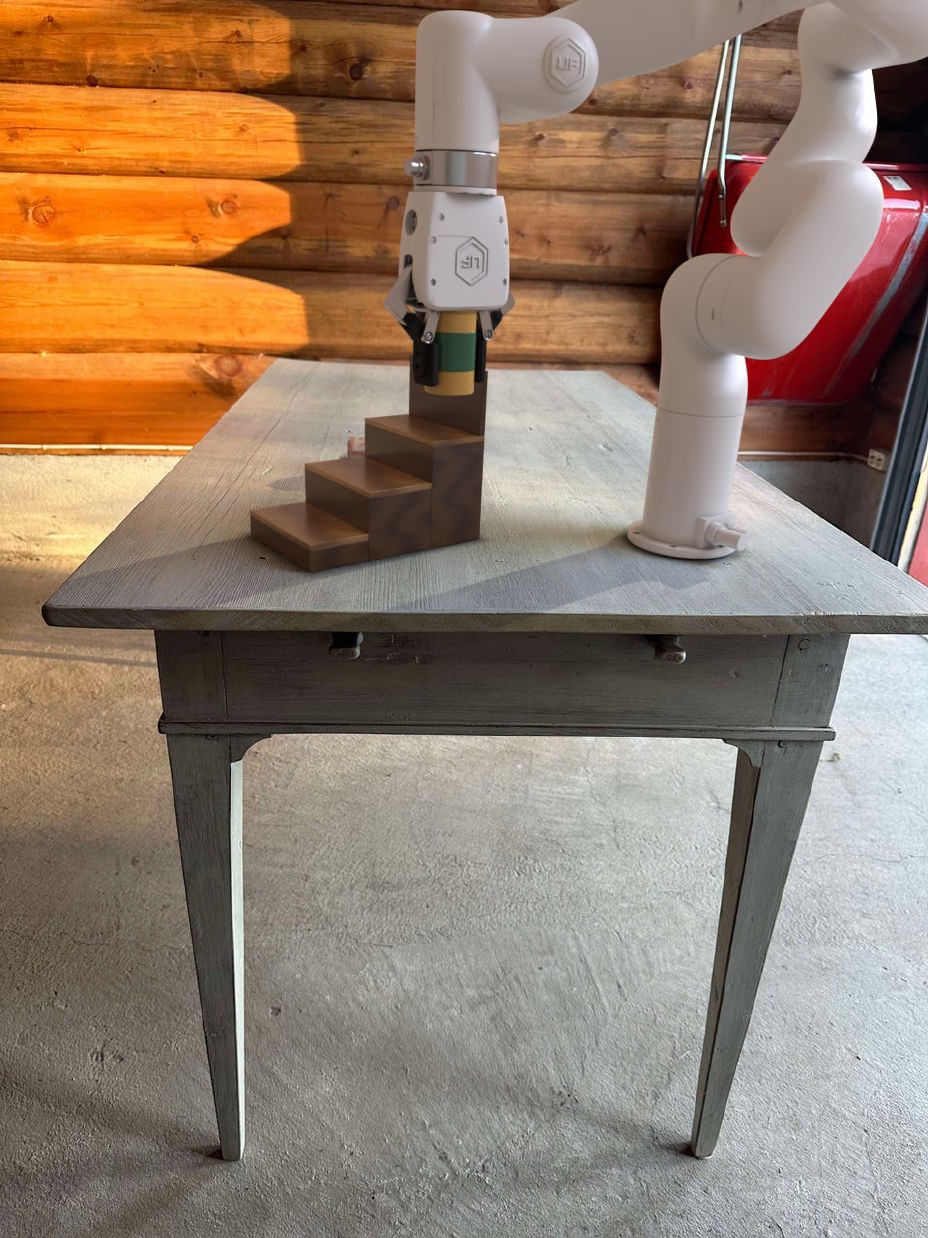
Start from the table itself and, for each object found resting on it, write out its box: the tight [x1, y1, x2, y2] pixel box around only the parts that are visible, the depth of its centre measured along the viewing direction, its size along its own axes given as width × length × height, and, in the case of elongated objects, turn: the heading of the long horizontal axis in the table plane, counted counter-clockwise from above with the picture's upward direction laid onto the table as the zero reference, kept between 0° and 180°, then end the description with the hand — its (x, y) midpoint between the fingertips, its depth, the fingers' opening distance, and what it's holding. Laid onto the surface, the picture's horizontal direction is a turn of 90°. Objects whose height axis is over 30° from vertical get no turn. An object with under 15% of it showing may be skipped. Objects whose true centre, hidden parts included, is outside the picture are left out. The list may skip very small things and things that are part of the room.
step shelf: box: [249, 353, 489, 573], centre depth 101 cm, size 22×14×19 cm, turn 127°
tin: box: [425, 310, 478, 396], centre depth 88 cm, size 5×5×8 cm
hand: (449, 380), depth 89 cm, fingers closed on tin, 5 cm apart
